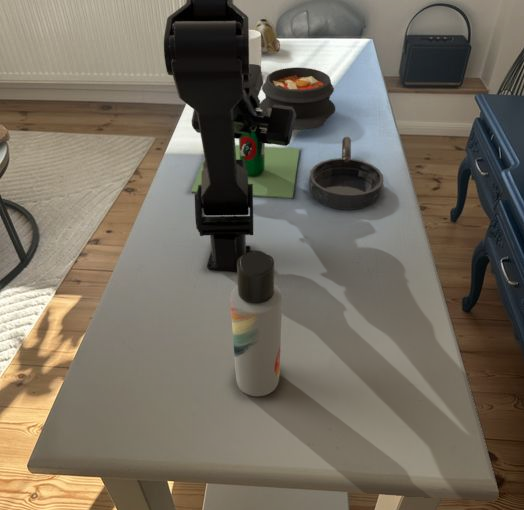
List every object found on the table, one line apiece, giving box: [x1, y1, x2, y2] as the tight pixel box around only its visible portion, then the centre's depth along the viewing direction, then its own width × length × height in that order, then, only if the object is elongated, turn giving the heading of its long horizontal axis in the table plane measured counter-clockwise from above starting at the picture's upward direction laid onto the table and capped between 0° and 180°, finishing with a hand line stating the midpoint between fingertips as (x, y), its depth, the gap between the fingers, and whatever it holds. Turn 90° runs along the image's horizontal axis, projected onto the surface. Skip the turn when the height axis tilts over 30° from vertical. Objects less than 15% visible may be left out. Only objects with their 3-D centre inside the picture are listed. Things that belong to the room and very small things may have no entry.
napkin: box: [190, 144, 301, 199], centre depth 101 cm, size 20×20×1 cm
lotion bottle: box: [230, 250, 283, 397], centre depth 56 cm, size 6×6×20 cm
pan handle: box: [341, 136, 352, 166], centre depth 101 cm, size 11×2×2 cm, turn 173°
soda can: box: [238, 108, 266, 176], centre depth 95 cm, size 5×5×12 cm
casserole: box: [259, 67, 336, 131], centre depth 115 cm, size 25×19×8 cm
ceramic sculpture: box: [253, 16, 281, 54], centre depth 146 cm, size 11×9×15 cm
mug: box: [249, 29, 262, 68], centre depth 133 cm, size 12×8×10 cm
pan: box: [308, 157, 384, 210], centre depth 94 cm, size 14×14×3 cm
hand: (254, 138), depth 96 cm, fingers closed on soda can, 5 cm apart
